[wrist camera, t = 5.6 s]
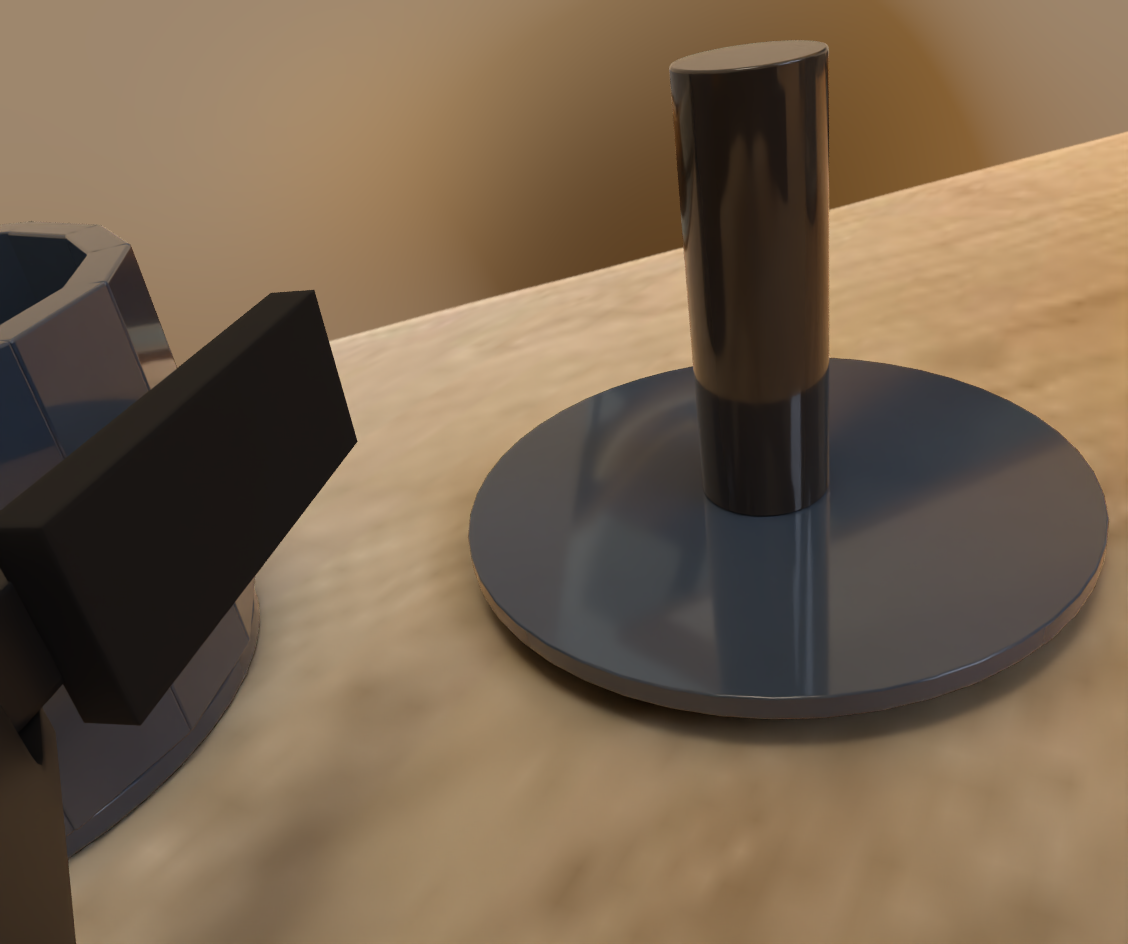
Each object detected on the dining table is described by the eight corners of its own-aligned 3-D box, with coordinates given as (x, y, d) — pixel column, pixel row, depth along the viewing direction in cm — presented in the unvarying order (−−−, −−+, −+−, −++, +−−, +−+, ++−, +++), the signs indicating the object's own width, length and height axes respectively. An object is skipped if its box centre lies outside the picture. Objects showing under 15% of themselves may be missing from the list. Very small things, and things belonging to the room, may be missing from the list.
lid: (885, 353, 29) (896, -19, 24) (1276, 624, 17) (1461, 7, 12) (443, 458, 27) (354, 81, 22) (544, 839, 15) (405, 221, 10)
